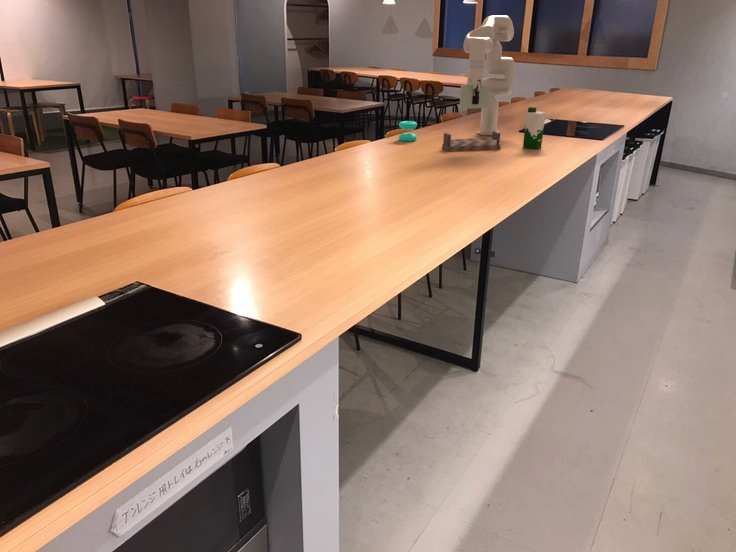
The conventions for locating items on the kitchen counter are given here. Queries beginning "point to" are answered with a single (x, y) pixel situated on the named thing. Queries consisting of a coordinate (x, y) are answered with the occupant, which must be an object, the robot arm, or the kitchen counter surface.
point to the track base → (471, 143)
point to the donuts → (407, 135)
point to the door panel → (467, 96)
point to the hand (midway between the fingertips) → (474, 103)
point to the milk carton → (533, 128)
